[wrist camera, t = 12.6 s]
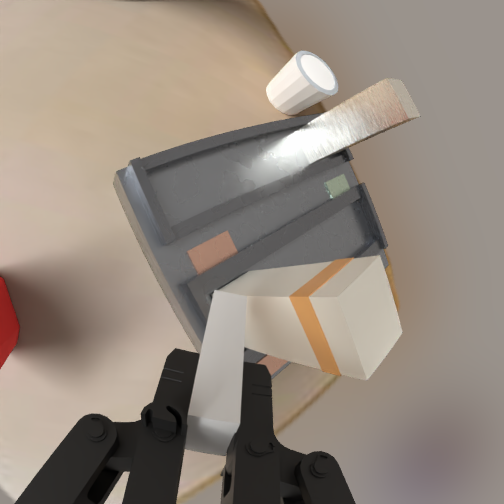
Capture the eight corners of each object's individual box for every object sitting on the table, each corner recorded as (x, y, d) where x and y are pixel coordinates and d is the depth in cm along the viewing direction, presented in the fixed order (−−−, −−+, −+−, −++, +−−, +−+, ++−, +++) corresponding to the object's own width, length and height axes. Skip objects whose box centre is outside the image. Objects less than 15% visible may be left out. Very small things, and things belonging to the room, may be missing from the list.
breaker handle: (210, 294, 23) (335, 296, 12) (249, 270, 25) (379, 253, 14) (238, 346, 23) (366, 381, 12) (273, 320, 25) (403, 332, 15)
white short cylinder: (274, 70, 34) (306, 43, 28) (309, 102, 37) (343, 79, 31) (253, 93, 32) (288, 62, 26) (293, 128, 34) (332, 104, 28)
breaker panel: (113, 183, 22) (159, 54, 9) (310, 123, 36) (405, 70, 23) (224, 394, 25) (354, 466, 12) (371, 266, 39) (474, 254, 26)
